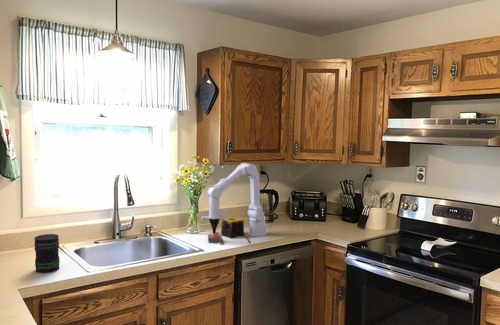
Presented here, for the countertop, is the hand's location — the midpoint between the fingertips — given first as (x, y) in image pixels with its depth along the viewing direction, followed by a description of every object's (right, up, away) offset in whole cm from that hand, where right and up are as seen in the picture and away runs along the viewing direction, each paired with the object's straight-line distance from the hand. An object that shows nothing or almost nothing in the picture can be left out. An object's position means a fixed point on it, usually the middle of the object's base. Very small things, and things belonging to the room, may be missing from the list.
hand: (214, 232), depth 235 cm
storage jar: (-70, -9, -49) cm, 86 cm away
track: (+11, -5, +7) cm, 14 cm away
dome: (0, -5, 0) cm, 5 cm away
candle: (+10, -4, +13) cm, 17 cm away
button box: (0, -5, 0) cm, 5 cm away
